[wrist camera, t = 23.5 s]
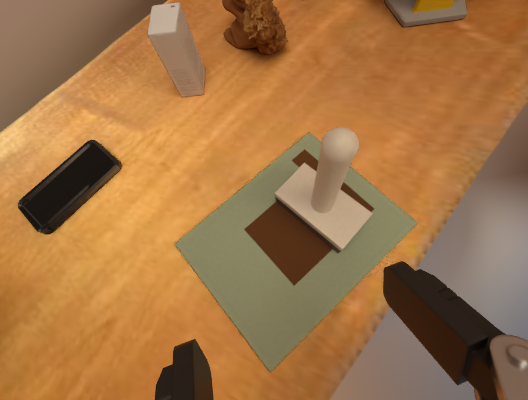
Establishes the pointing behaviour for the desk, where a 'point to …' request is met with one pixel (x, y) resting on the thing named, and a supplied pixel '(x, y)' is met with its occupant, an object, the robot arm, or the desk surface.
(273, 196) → the desk mat
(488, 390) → the robot arm
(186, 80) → the cosmetic box
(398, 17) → the yellow framed monitor
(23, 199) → the phone
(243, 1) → the stuffed squirrel
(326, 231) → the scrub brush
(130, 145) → the desk surface
